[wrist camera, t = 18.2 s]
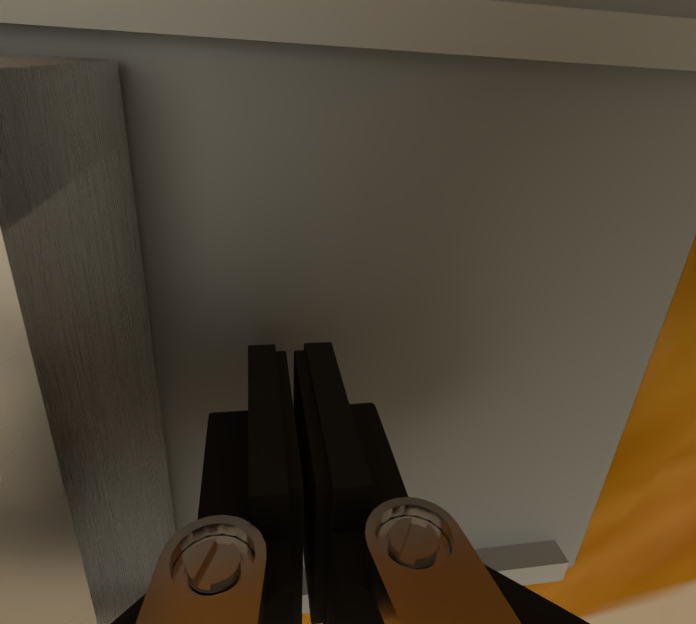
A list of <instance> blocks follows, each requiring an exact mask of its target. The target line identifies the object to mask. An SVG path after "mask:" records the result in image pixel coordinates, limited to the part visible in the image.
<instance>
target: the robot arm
mask: <svg viewBox="0 0 696 624" xmlns="http://www.w3.org/2000/svg"><path fill="white" fill-rule="evenodd" d="M303 555H304V564H305V573H306V582H307V591H308V600H309V609H310V617H311V623H312V624H318V623H323V624H589V623H588V622H586V621H584V620H582V619H581V618H579V617H577V616H575V615H574V614H572V613H570V612H568V611H566V610H565V609H563V608H561V607H559V606H558V605H556V604H554V603H552V602H551V601H549V600H547V599H545V598H543V597H542V596H540V595H538V594H536V593H535V592H533V591H531V590H529V589H528V588H526V587H524V586H522V585H520V584H519V583H517V582H515V581H513V580H512V579H510V578H508V577H506V576H504V575H503V574H501V573H499V572H497V571H496V570H494V569H492V568H490V567H489V566H487V565H485V564H483V562H482V561H481V559H480V558H479V556H478V554H477V553H476V551H475V550H474V548H473V546H472V545H471V543H470V542H469V540H468V539H467V537H466V535H465V534H464V532H463V531H462V529H461V528H460V526H459V524H458V523H457V522H456V521H455V520H454V518H453V517H452V516H451V515H450V514H449V513H448V512H447V511H445V510H444V509H443V508H441V507H440V506H438V505H437V504H434V503H432V502H429V501H427V500H424V499H420V498H413V497H408V494H407V491H406V489H405V486H404V483H403V480H402V478H401V475H400V472H399V469H398V467H397V464H396V461H395V458H394V455H393V453H392V450H391V447H390V444H389V442H388V439H387V436H386V433H385V431H384V428H383V425H382V422H381V420H380V417H379V414H378V411H377V409H376V407H375V404H374V403H372V402H371V403H356V404H349V401H348V398H347V394H346V391H345V387H344V384H343V380H342V377H341V374H340V370H339V367H338V363H337V360H336V356H335V353H334V349H333V346H332V343H331V342H318V343H304V350H294V397H293V400H292V393H291V385H290V377H289V370H288V362H287V354H286V351H276V348H275V344H269V345H248V410H244V411H228V412H212V413H209V416H208V424H207V434H206V443H205V452H204V462H203V471H202V481H201V490H200V500H199V509H198V518H197V520H196V521H193V522H191V523H189V524H188V525H186V526H184V527H183V528H181V529H180V530H178V531H177V532H176V533H175V534H174V535H173V536H172V537H171V538H170V539H169V540H168V541H167V543H166V544H165V546H164V548H163V550H162V552H161V554H160V556H159V558H158V561H157V564H156V567H155V570H154V573H153V575H152V578H151V581H150V584H149V587H148V590H147V593H146V594H144V595H143V596H142V597H141V598H140V599H139V600H137V601H136V602H135V603H134V604H133V605H132V606H130V607H129V608H128V609H127V610H126V611H125V612H123V613H122V614H121V615H120V616H119V617H118V618H116V619H115V620H114V621H113V622H112V623H111V624H302V587H303Z"/></svg>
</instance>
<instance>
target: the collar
mask: <svg viewBox="0 0 696 624" xmlns="http://www.w3.org/2000/svg"><path fill="white" fill-rule="evenodd" d="M175 533H176V530H175V522H174V514H173V506H172V498H171V490H170V482H169V474H168V466H167V458H166V450H165V442H164V434H163V426H162V418H161V409H160V401H159V393H158V385H157V377H156V369H155V361H154V353H153V345H152V337H151V329H150V321H149V313H148V305H147V297H146V289H145V281H144V272H143V264H142V256H141V248H140V240H139V232H138V224H137V216H136V208H135V200H134V192H133V184H132V176H131V168H130V160H129V152H128V143H127V135H126V127H125V119H124V111H123V103H122V95H121V87H120V79H119V71H118V63H117V60H108V59H91V58H74V57H58V56H41V55H25V54H8V53H0V624H111V623H112V622H113V621H114V620H115V619H116V618H118V617H119V616H120V615H121V614H122V613H123V612H125V611H126V610H127V609H128V608H129V607H130V606H132V605H133V604H134V603H135V602H136V601H137V600H139V599H140V598H141V597H142V596H143V595H144V594H146V593H147V590H148V587H149V584H150V581H151V578H152V575H153V573H154V570H155V567H156V564H157V561H158V558H159V556H160V554H161V552H162V550H163V548H164V546H165V544H166V543H167V541H168V540H169V539H170V538H171V537H172V536H173V535H174V534H175Z"/></svg>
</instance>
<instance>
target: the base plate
mask: <svg viewBox="0 0 696 624" xmlns="http://www.w3.org/2000/svg"><path fill="white" fill-rule="evenodd" d="M0 53H8V54H25V55H41V56H58V57H74V58H91V59H108V60H117V63H118V71H119V79H120V87H121V95H122V103H123V111H124V119H125V127H126V135H127V143H128V152H129V160H130V168H131V176H132V184H133V192H134V200H135V208H136V216H137V224H138V232H139V240H140V248H141V256H142V264H143V272H144V281H145V289H146V297H147V305H148V313H149V321H150V329H151V337H152V345H153V353H154V361H155V369H156V377H157V385H158V393H159V401H160V409H161V418H162V426H163V434H164V442H165V450H166V458H167V466H168V474H169V482H170V490H171V498H172V506H173V514H174V522H175V530H176V532H177V531H178V530H180V529H181V528H183V527H184V526H186V525H188V524H189V523H191V522H193V521H196V520H197V518H198V509H199V500H200V490H201V481H202V471H203V462H204V452H205V443H206V434H207V424H208V416H209V413H212V412H228V411H244V410H248V345H269V344H275V348H276V351H286V354H287V362H288V370H289V377H290V385H291V393H292V400H293V397H294V350H304V343H318V342H331V343H332V346H333V349H334V353H335V356H336V360H337V363H338V367H339V370H340V374H341V377H342V380H343V384H344V387H345V391H346V394H347V398H348V401H349V404H356V403H371V402H372V403H374V404H375V407H376V409H377V411H378V414H379V417H380V420H381V422H382V425H383V428H384V431H385V433H386V436H387V439H388V442H389V444H390V447H391V450H392V453H393V455H394V458H395V461H396V464H397V467H398V469H399V472H400V475H401V478H402V480H403V483H404V486H405V489H406V491H407V494H408V497H413V498H420V499H424V500H427V501H429V502H432V503H434V504H437V505H438V506H440V507H441V508H443V509H444V510H445V511H447V512H448V513H449V514H450V515H451V516H452V517H453V518H454V520H455V521H456V522H457V523H458V524H459V526H460V528H461V529H462V531H463V532H464V534H465V535H466V537H467V539H468V540H469V542H470V543H471V545H472V546H473V548H474V550H475V551H476V553H477V554H478V556H479V558H480V559H481V561H482V562H483V564H485V565H487V566H489V567H490V568H492V569H494V570H496V571H497V572H499V573H501V574H503V575H504V576H506V577H508V578H510V579H512V580H513V581H515V582H517V583H519V584H520V585H522V586H524V585H532V584H540V583H548V582H555V581H563V578H564V575H565V573H566V570H567V568H570V567H573V565H574V563H575V560H576V557H577V555H578V552H579V549H580V546H581V544H582V541H583V538H584V536H585V533H586V530H587V528H588V525H589V522H590V519H591V517H592V514H593V511H594V509H595V506H596V503H597V501H598V498H599V495H600V492H601V490H602V487H603V484H604V482H605V479H606V476H607V474H608V471H609V468H610V465H611V463H612V460H613V457H614V455H615V452H616V449H617V446H618V444H619V441H620V438H621V436H622V433H623V430H624V428H625V425H626V422H627V419H628V417H629V414H630V411H631V409H632V406H633V403H634V401H635V398H636V395H637V392H638V390H639V387H640V384H641V382H642V379H643V376H644V374H645V371H646V368H647V365H648V363H649V360H650V357H651V355H652V352H653V349H654V347H655V344H656V341H657V338H658V336H659V333H660V330H661V328H662V325H663V322H664V319H665V317H666V314H667V311H668V309H669V306H670V303H671V301H672V298H673V295H674V292H675V290H676V287H677V284H678V282H679V279H680V276H681V274H682V271H683V268H684V265H685V263H686V260H687V257H688V255H689V252H690V249H691V247H692V244H693V241H694V238H695V236H696V0H0ZM307 613H310V609H309V600H308V591H307V582H306V573H305V564H304V555H303V587H302V614H307Z"/></svg>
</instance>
